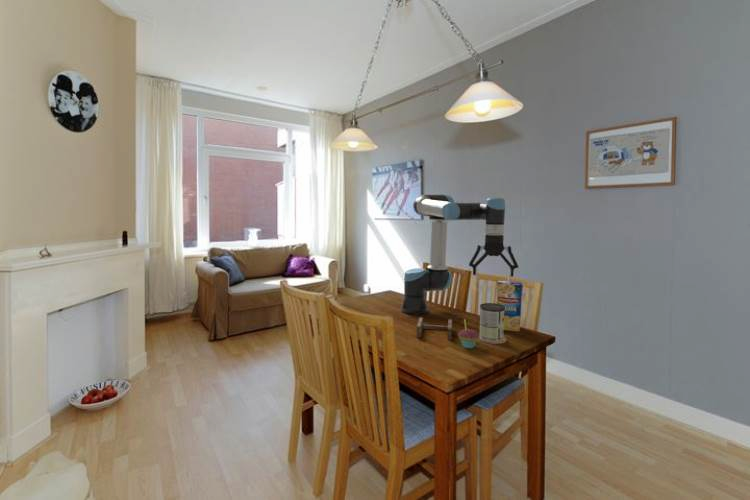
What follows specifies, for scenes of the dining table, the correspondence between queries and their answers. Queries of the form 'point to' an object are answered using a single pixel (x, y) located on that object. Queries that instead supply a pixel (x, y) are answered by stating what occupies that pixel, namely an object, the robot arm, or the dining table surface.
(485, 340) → the coaster
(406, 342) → the dining table surface
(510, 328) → the blue cardboard box
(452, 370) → the dining table surface
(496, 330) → the coffee can
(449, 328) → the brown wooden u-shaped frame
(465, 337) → the cupcake
